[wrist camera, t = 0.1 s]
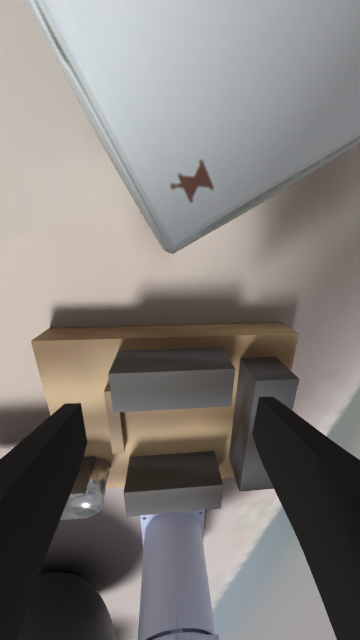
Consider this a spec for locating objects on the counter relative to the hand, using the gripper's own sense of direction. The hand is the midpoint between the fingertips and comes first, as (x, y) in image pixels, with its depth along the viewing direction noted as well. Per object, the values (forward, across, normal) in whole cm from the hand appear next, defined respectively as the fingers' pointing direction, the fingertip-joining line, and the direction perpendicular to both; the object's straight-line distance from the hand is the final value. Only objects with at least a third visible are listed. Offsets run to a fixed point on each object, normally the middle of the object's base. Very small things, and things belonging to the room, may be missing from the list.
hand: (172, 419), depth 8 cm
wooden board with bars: (+10, 0, +8) cm, 13 cm away
